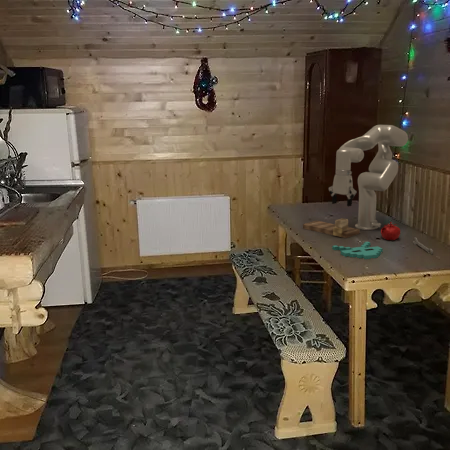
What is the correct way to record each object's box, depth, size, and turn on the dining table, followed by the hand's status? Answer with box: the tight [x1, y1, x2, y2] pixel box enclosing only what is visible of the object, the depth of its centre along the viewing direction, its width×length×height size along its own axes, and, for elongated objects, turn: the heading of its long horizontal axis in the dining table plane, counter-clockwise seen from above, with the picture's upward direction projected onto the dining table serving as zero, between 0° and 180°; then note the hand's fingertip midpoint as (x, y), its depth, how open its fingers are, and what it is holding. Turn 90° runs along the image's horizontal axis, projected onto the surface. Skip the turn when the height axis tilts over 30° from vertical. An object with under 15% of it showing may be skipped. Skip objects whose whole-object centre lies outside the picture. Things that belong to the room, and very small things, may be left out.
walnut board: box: [302, 220, 361, 239], centre depth 293 cm, size 30×12×3 cm, turn 41°
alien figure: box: [331, 241, 384, 260], centre depth 254 cm, size 20×2×20 cm
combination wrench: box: [412, 237, 434, 255], centre depth 257 cm, size 4×1×20 cm
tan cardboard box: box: [332, 218, 349, 238], centre depth 282 cm, size 5×7×8 cm
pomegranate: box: [380, 221, 401, 241], centre depth 275 cm, size 10×10×9 cm
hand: (341, 204), depth 279 cm, fingers open, 9 cm apart
